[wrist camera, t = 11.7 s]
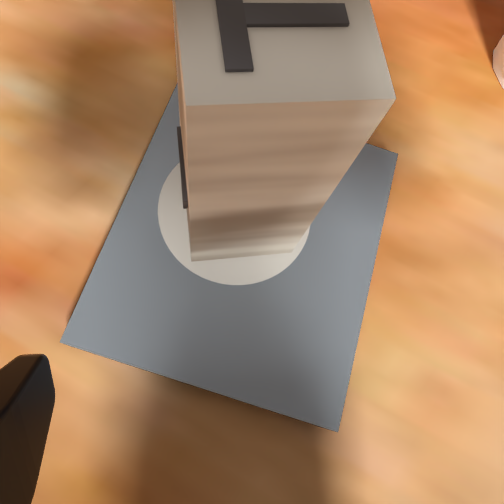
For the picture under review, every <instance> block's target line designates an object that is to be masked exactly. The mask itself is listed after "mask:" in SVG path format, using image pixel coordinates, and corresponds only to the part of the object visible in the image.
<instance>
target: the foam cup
mask: <svg viewBox="0 0 504 504" xmlns="http://www.w3.org/2000/svg"><path fill="white" fill-rule="evenodd" d="M493 70H494V72H495V74H496V76H497V78H498V80H499V82H500V84H501V86H502V88H503V89H504V35H503V36H502V38H501V39H500V41H499V42H498V45H497V46H496V47H495V49H494V50H493Z"/></svg>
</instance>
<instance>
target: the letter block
mask: <svg viewBox="0 0 504 504" xmlns="http://www.w3.org/2000/svg"><path fill="white" fill-rule="evenodd" d="M173 16H174V33H175V50H176V66H177V83H178V100H179V117H180V126H178V127H177V138H178V149H179V160H180V173H181V187H182V200H183V209H186V211H187V221H188V232H189V243H190V253H191V262H193V261H204V260H215V259H226V258H237V257H248V256H259V255H270V254H281V253H291V252H292V251H293V250H294V248H295V247H296V245H297V244H298V242H299V241H300V239H301V238H302V236H303V235H304V233H305V232H306V230H307V229H308V228H309V226H310V225H311V223H312V222H313V220H314V219H315V217H316V216H317V214H318V213H319V211H320V210H321V208H322V207H323V206H324V204H325V203H326V201H327V200H328V198H329V197H330V195H331V194H332V192H333V191H334V189H335V188H336V186H337V185H338V184H339V182H340V181H341V179H342V178H343V176H344V175H345V173H346V172H347V170H348V169H349V167H350V166H351V164H352V163H353V162H354V160H355V159H356V157H357V156H358V154H359V153H360V151H361V150H362V148H363V147H364V145H365V144H366V142H367V141H368V139H369V138H370V137H371V135H372V134H373V132H374V131H375V129H376V128H377V126H378V125H379V123H380V122H381V120H382V119H383V117H384V116H385V115H386V113H387V112H388V110H389V109H390V107H391V106H392V104H393V103H394V101H395V100H396V96H395V92H394V88H393V85H392V81H391V77H390V74H389V70H388V66H387V63H386V59H385V56H384V52H383V48H382V45H381V41H380V37H379V34H378V30H377V26H376V23H375V19H374V15H373V12H372V8H371V4H370V1H369V0H173Z"/></svg>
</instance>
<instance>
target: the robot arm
mask: <svg viewBox="0 0 504 504" xmlns="http://www.w3.org/2000/svg"><path fill="white" fill-rule="evenodd" d="M54 403H55V388H54V384H53V379H52V374H51V369H50V364H49V360H48V358H47V356H45V355H44V354H27V355H20V356H18V357H16V358H15V359H13V360H12V361H11V362H9V363H8V364H7V365H5V366H4V367H3V368H1V369H0V504H31V502H32V499H33V496H34V492H35V488H36V484H37V480H38V476H39V471H40V467H41V462H42V458H43V453H44V449H45V444H46V440H47V435H48V431H49V426H50V422H51V417H52V413H53V408H54Z"/></svg>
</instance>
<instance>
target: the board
mask: <svg viewBox="0 0 504 504" xmlns="http://www.w3.org/2000/svg"><path fill="white" fill-rule="evenodd" d="M178 126H180V117H179V100H178V83H177V85H176V87H175V89H174V91H173V94H172V96H171V98H170V100H169V102H168V105H167V107H166V109H165V111H164V113H163V116H162V118H161V120H160V122H159V124H158V127H157V129H156V131H155V133H154V135H153V138H152V140H151V142H150V144H149V146H148V149H147V151H146V153H145V155H144V157H143V160H142V162H141V164H140V166H139V168H138V171H137V173H136V175H135V177H134V180H133V182H132V184H131V186H130V188H129V191H128V193H127V195H126V197H125V199H124V202H123V204H122V206H121V208H120V210H119V213H118V215H117V217H116V219H115V221H114V224H113V226H112V228H111V230H110V232H109V235H108V237H107V239H106V241H105V243H104V246H103V248H102V250H101V252H100V254H99V257H98V259H97V261H96V263H95V265H94V268H93V270H92V272H91V274H90V276H89V279H88V281H87V283H86V285H85V287H84V290H83V292H82V294H81V296H80V298H79V301H78V303H77V305H76V307H75V309H74V312H73V314H72V316H71V318H70V320H69V323H68V325H67V327H66V329H65V331H64V334H63V336H62V338H61V340H60V342H61V343H63V344H66V345H69V346H72V347H75V348H78V349H81V350H84V351H87V352H91V353H94V354H97V355H100V356H103V357H106V358H109V359H112V360H115V361H118V362H121V363H125V364H128V365H131V366H134V367H137V368H140V369H143V370H146V371H149V372H152V373H155V374H159V375H162V376H165V377H168V378H171V379H174V380H177V381H180V382H183V383H186V384H189V385H193V386H196V387H199V388H202V389H205V390H208V391H211V392H214V393H217V394H220V395H223V396H227V397H230V398H233V399H236V400H239V401H242V402H245V403H248V404H251V405H254V406H257V407H261V408H264V409H267V410H270V411H273V412H276V413H279V414H282V415H285V416H288V417H291V418H295V419H298V420H301V421H304V422H307V423H310V424H313V425H316V426H319V427H322V428H325V429H329V430H332V431H335V432H338V430H339V426H340V421H341V416H342V412H343V407H344V403H345V398H346V393H347V389H348V384H349V379H350V375H351V370H352V365H353V361H354V356H355V351H356V347H357V342H358V337H359V333H360V328H361V324H362V319H363V314H364V310H365V305H366V300H367V296H368V291H369V286H370V282H371V277H372V272H373V268H374V263H375V259H376V254H377V249H378V245H379V240H380V235H381V231H382V226H383V221H384V217H385V212H386V207H387V203H388V198H389V194H390V189H391V184H392V180H393V175H394V170H395V166H396V161H397V156H398V154H397V153H394V152H391V151H388V150H385V149H382V148H379V147H376V146H373V145H370V144H367V143H366V144H365V145H364V147H363V148H362V150H361V151H360V153H359V154H358V156H357V157H356V159H355V160H354V162H353V163H352V164H351V166H350V167H349V169H348V170H347V172H346V173H345V175H344V176H343V178H342V179H341V181H340V182H339V184H338V185H337V186H336V188H335V189H334V191H333V192H332V194H331V195H330V197H329V198H328V200H327V201H326V203H325V204H324V206H323V207H322V208H321V210H320V211H319V213H318V214H317V216H316V217H315V219H314V220H313V222H312V223H311V225H310V226H309V228H308V229H307V230H306V232H305V233H304V235H303V236H302V238H301V239H300V241H299V242H298V244H297V245H296V247H295V248H294V250H293V251H292V252H291V253H281V254H270V255H259V256H248V257H237V258H226V259H215V260H204V261H193V262H191V253H190V243H189V232H188V221H187V211H186V209H183V200H182V187H181V173H180V160H179V149H178V138H177V127H178Z"/></svg>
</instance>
